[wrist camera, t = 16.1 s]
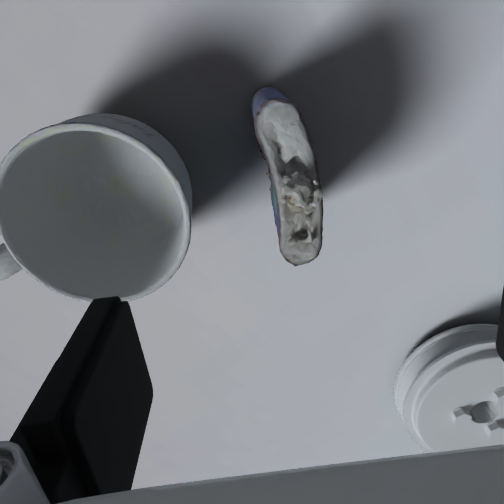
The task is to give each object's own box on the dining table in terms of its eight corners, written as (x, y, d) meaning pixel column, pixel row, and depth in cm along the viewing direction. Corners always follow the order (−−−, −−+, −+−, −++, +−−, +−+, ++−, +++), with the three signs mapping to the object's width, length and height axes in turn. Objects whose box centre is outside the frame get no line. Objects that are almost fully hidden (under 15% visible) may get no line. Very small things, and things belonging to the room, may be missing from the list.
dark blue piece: (246, 91, 28) (250, 108, 19) (290, 80, 28) (317, 92, 18) (273, 219, 32) (288, 288, 22) (311, 210, 32) (343, 277, 22)
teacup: (172, 87, 28) (148, 96, 21) (220, 234, 33) (214, 284, 25) (-20, 144, 29) (-106, 171, 22) (51, 278, 34) (-2, 339, 26)
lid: (471, 443, 42) (500, 490, 38) (363, 403, 40) (379, 447, 35) (560, 348, 38) (604, 388, 33) (444, 295, 35) (475, 330, 31)
